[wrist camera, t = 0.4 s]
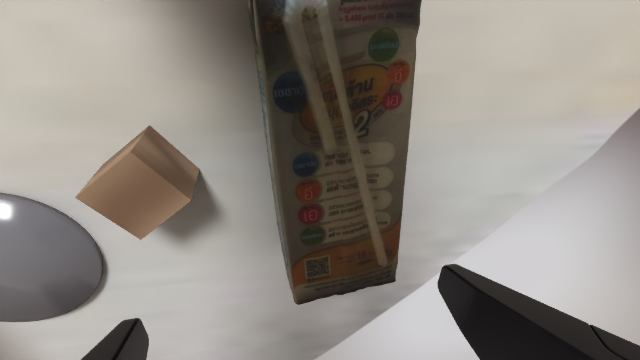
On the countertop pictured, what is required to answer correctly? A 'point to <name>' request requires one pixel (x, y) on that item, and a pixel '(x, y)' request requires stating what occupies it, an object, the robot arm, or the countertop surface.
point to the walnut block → (142, 184)
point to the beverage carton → (336, 134)
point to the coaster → (43, 261)
